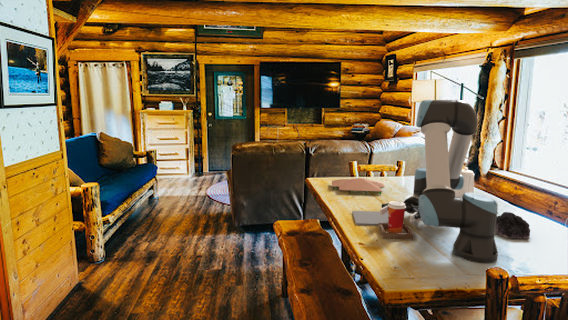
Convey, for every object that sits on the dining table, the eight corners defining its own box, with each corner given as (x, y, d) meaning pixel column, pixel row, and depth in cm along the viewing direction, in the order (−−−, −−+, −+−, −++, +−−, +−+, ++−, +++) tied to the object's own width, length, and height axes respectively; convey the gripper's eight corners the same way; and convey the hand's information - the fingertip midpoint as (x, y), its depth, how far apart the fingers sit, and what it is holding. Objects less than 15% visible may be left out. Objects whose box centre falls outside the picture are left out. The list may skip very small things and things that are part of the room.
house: (386, 196, 213) (387, 183, 211) (331, 194, 217) (332, 181, 216) (381, 186, 235) (382, 174, 234) (331, 185, 239) (331, 173, 238)
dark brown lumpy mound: (531, 244, 146) (536, 221, 144) (493, 236, 152) (498, 213, 150) (526, 235, 158) (531, 214, 156) (492, 228, 164) (496, 207, 162)
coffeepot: (459, 205, 196) (462, 171, 192) (448, 192, 220) (450, 163, 216) (480, 206, 193) (484, 172, 190) (466, 193, 217) (469, 163, 214)
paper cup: (390, 229, 161) (391, 199, 158) (406, 233, 156) (409, 202, 153) (383, 234, 155) (384, 203, 152) (400, 238, 150) (402, 207, 147)
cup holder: (413, 240, 149) (413, 234, 148) (383, 238, 150) (383, 233, 149) (406, 229, 161) (406, 223, 160) (378, 228, 162) (378, 222, 162)
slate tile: (395, 226, 164) (395, 224, 164) (356, 225, 166) (356, 223, 165) (387, 213, 182) (387, 211, 181) (352, 212, 183) (352, 210, 183)
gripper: (440, 217, 163) (423, 230, 147) (388, 206, 179) (368, 217, 163) (441, 201, 161) (424, 213, 145) (389, 192, 177) (369, 201, 161)
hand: (395, 215), depth 154 cm, fingers open, 13 cm apart
